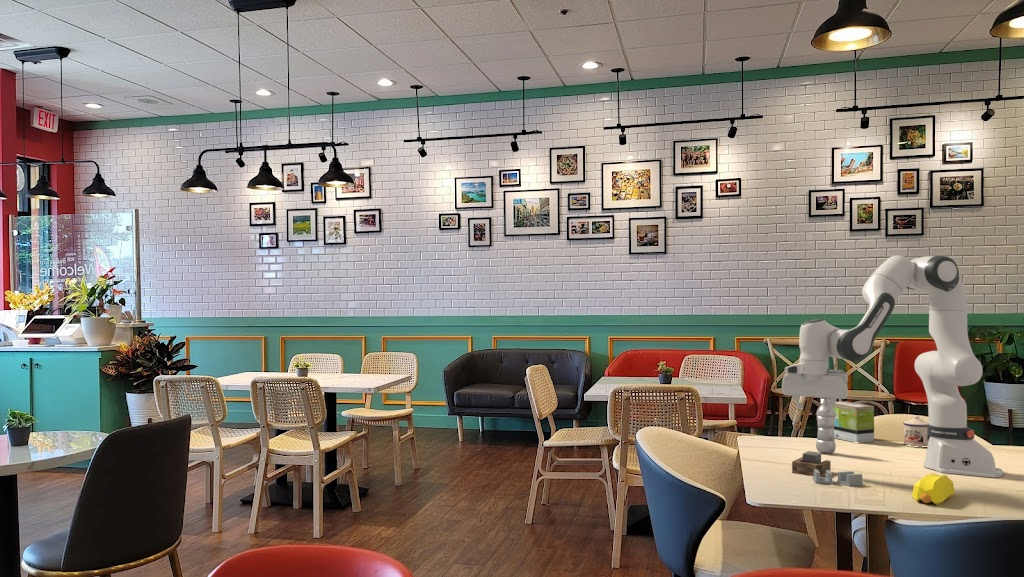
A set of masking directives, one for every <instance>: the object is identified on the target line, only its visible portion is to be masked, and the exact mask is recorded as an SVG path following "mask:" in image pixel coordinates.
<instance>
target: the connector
mask: <svg viewBox="0 0 1024 577" xmlns="http://www.w3.org/2000/svg"><path fill="white" fill-rule="evenodd" d="M802 457H803V462H805V463H813V464H819V463H821V462H822V452H818V451H810V450H808V451H805V452H804V453H802Z"/></svg>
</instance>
